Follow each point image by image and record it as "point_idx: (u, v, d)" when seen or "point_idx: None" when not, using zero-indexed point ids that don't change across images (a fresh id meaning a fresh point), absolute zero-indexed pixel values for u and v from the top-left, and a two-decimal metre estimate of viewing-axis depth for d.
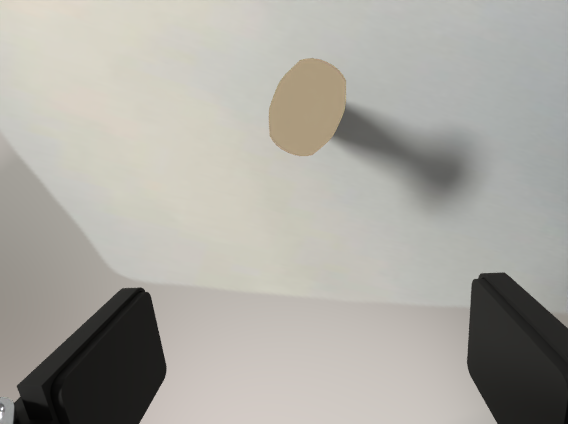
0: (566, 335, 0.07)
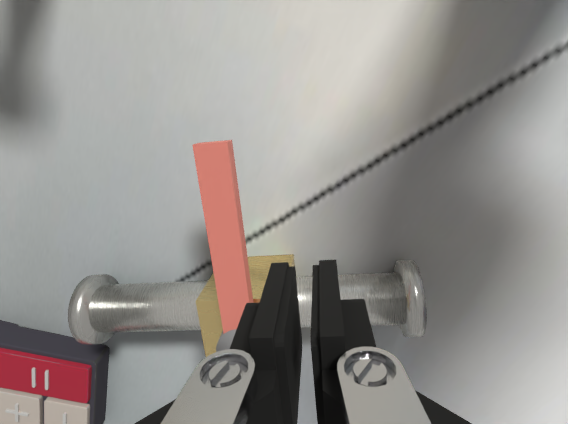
0: (335, 306, 0.08)
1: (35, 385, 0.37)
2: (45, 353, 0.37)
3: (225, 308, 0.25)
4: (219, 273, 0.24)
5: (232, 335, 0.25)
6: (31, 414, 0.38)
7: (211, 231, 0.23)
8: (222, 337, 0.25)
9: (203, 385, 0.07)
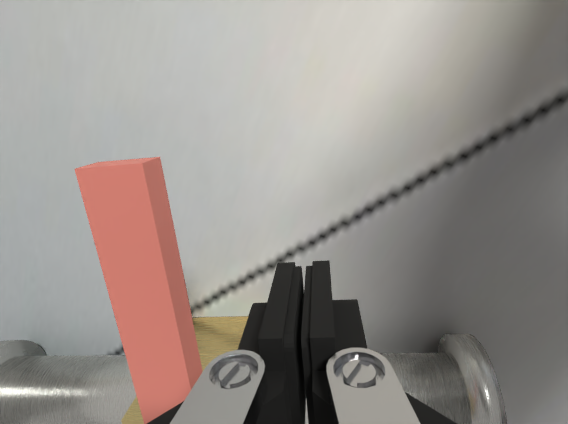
0: (326, 306, 0.08)
1: None
2: None
3: None
4: (147, 398, 0.13)
5: None
6: None
7: (126, 328, 0.12)
8: None
9: (213, 386, 0.06)
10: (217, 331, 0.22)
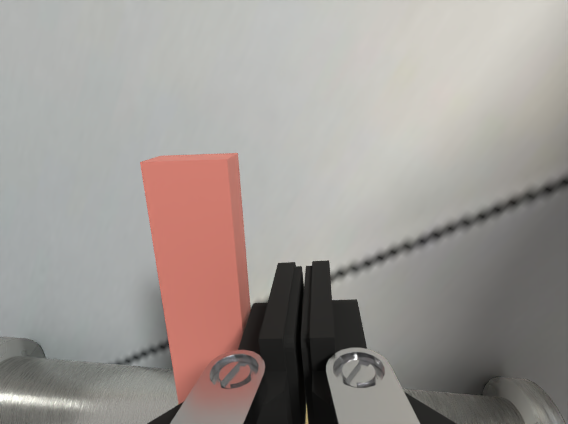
0: (326, 306, 0.08)
1: None
2: None
3: None
4: None
5: None
6: None
7: (181, 357, 0.10)
8: None
9: (214, 386, 0.06)
10: None
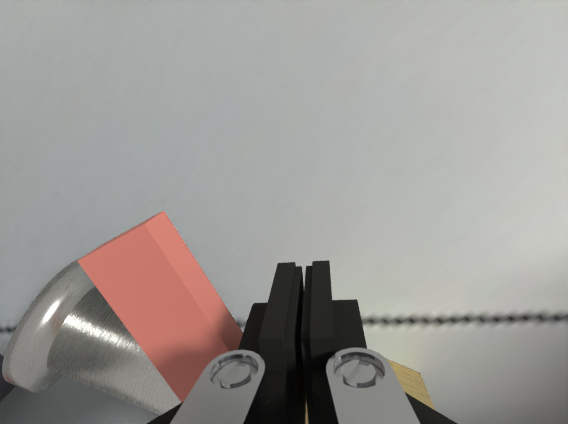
0: (326, 307, 0.08)
1: None
2: None
3: None
4: None
5: None
6: None
7: None
8: None
9: (214, 386, 0.06)
10: None
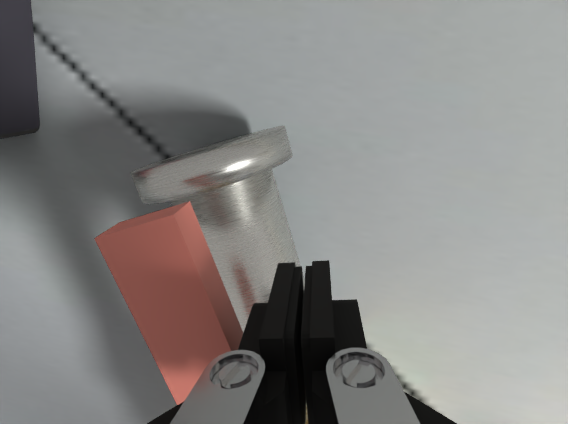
0: (326, 307, 0.08)
1: None
2: None
3: None
4: None
5: None
6: None
7: None
8: None
9: (213, 386, 0.06)
10: None
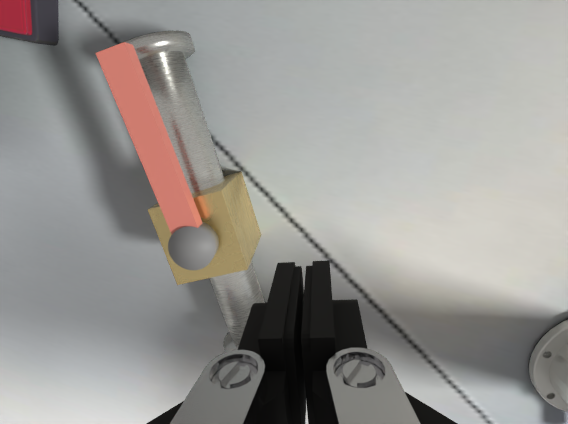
0: (326, 307, 0.08)
1: None
2: None
3: (166, 208, 0.27)
4: (152, 174, 0.26)
5: (179, 233, 0.27)
6: None
7: (134, 134, 0.25)
8: (171, 238, 0.27)
9: (213, 386, 0.06)
10: (246, 200, 0.35)
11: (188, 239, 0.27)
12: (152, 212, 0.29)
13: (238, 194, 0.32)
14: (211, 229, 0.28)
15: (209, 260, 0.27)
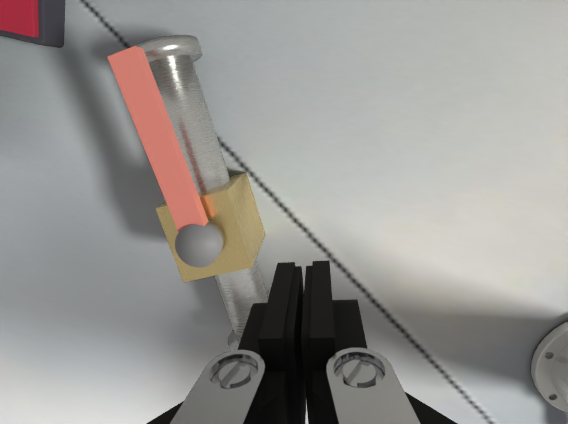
0: (326, 306, 0.08)
1: None
2: None
3: (173, 207, 0.27)
4: (160, 174, 0.27)
5: (185, 231, 0.28)
6: None
7: (143, 135, 0.26)
8: (177, 235, 0.28)
9: (213, 386, 0.06)
10: (251, 200, 0.35)
11: (194, 237, 0.28)
12: (160, 211, 0.29)
13: (243, 194, 0.33)
14: (217, 227, 0.29)
15: (215, 258, 0.28)
